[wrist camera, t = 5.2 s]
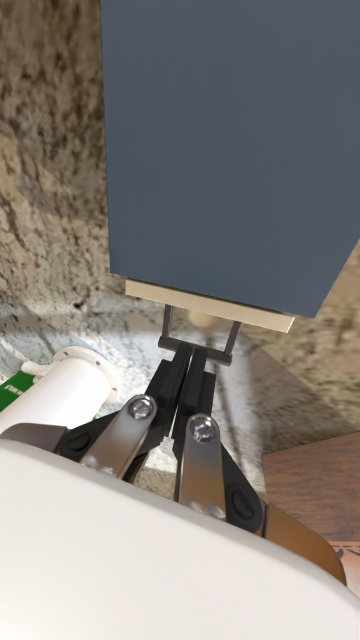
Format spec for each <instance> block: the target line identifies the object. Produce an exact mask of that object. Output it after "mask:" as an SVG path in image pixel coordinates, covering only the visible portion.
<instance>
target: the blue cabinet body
mask: <svg viewBox="0 0 360 640" xmlns="http://www.w3.org/2000/svg"><path fill="white" fill-rule="evenodd" d="M100 13H101V40H102V67H103V94H104V121H105V148H106V175H107V202H108V229H109V256H110V273H113V274H117V275H122V276H126V277H131V278H135V279H140V280H144V281H149V282H153V283H157V284H162V285H166V286H171V287H175V288H180V289H184V290H189V291H193V292H198V293H202V294H206V295H211V296H215V297H220V298H224V299H229V300H233V301H238V302H242V303H247V304H251V305H255V306H260V307H264V308H269V309H273V310H278V311H282V312H287V313H291V314H296V315H300V316H304V317H309V318H313V319H315V317H316V316H317V314H318V312H319V310H320V308H321V307H322V305H323V303H324V301H325V299H326V298H327V296H328V294H329V292H330V290H331V289H332V287H333V285H334V283H335V282H336V280H337V278H338V276H339V274H340V273H341V271H342V269H343V267H344V265H345V264H346V262H347V260H348V258H349V257H350V255H351V253H352V251H353V249H354V248H355V246H356V244H357V242H358V240H359V239H360V0H100Z"/></svg>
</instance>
